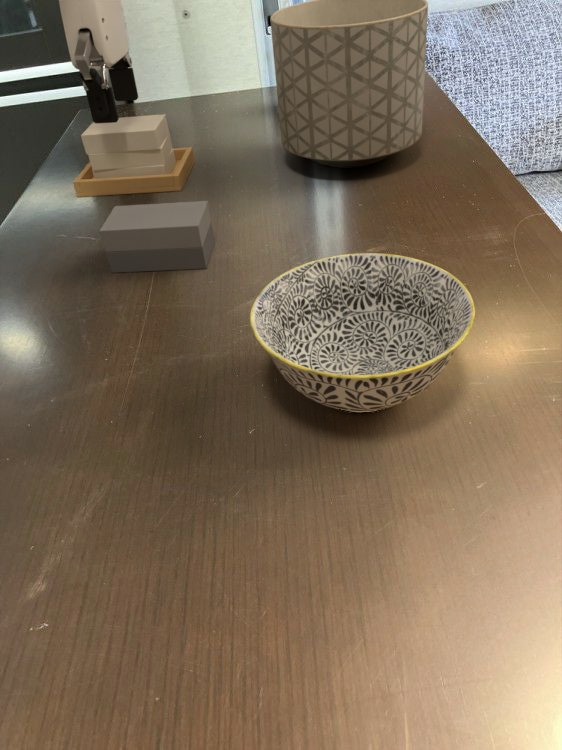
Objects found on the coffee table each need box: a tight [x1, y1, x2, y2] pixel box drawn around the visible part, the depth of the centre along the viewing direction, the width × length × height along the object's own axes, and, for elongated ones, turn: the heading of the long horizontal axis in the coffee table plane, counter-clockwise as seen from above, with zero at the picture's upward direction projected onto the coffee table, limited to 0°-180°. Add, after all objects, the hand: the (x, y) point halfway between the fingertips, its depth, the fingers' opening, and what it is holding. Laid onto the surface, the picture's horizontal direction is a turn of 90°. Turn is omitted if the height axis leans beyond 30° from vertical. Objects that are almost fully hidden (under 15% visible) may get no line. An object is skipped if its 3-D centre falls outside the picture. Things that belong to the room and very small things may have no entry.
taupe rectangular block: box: [87, 132, 176, 179], centre depth 86 cm, size 10×7×4 cm
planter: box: [269, 0, 429, 169], centre depth 81 cm, size 19×19×18 cm
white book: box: [80, 113, 170, 155], centre depth 84 cm, size 10×6×2 cm, turn 86°
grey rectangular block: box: [98, 200, 216, 274], centre depth 67 cm, size 10×6×5 cm, turn 86°
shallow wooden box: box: [72, 146, 196, 198], centre depth 87 cm, size 15×11×2 cm
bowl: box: [249, 252, 476, 411], centre depth 47 cm, size 16×16×8 cm
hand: (117, 110), depth 82 cm, fingers open, 9 cm apart
